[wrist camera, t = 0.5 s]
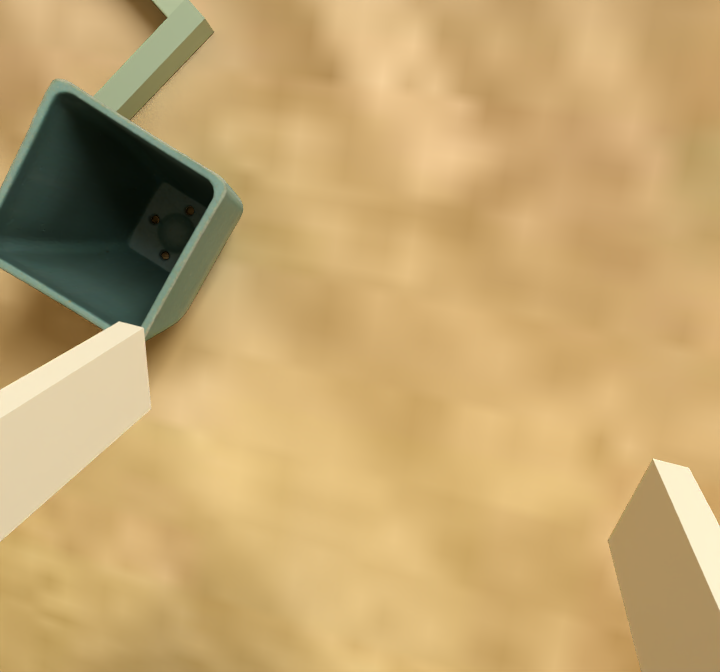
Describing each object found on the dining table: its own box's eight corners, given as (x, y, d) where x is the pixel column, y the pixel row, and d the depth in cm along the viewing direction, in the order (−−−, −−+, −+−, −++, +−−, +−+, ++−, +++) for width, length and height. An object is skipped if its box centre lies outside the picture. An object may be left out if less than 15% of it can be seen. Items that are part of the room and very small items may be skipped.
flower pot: (205, 331, 31) (135, 352, 22) (86, 258, 30) (-35, 249, 21) (274, 212, 30) (231, 182, 21) (152, 135, 29) (54, 72, 20)
